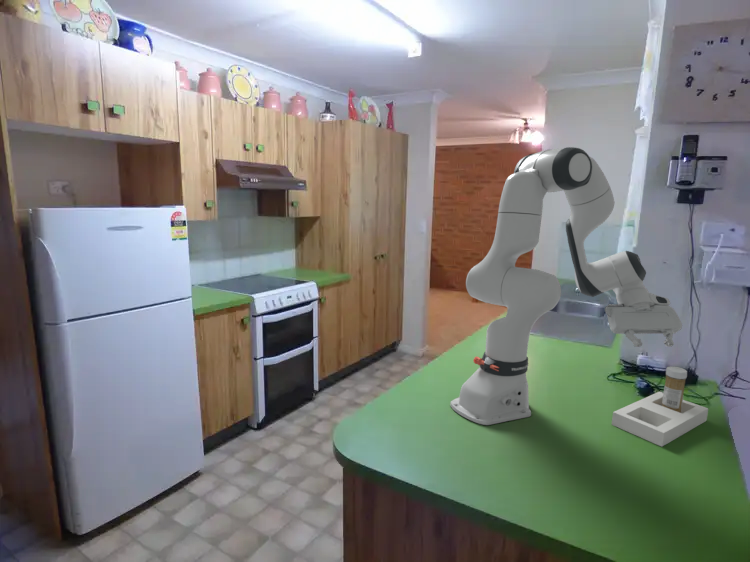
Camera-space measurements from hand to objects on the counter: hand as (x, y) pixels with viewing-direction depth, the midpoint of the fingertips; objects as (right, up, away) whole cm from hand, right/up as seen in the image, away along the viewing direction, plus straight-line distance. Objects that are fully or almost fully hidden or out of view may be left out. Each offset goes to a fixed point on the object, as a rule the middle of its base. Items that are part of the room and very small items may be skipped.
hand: (654, 345), depth 124 cm
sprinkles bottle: (0, -18, -6) cm, 19 cm away
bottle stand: (-5, -19, -10) cm, 22 cm away
